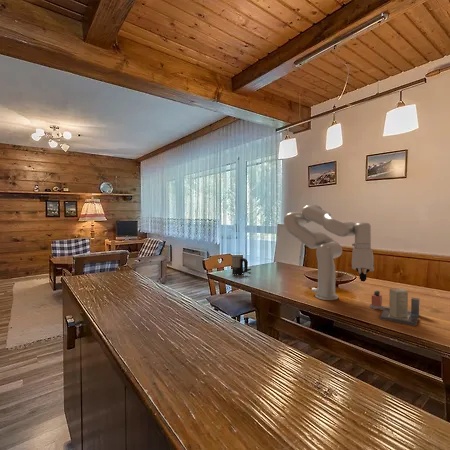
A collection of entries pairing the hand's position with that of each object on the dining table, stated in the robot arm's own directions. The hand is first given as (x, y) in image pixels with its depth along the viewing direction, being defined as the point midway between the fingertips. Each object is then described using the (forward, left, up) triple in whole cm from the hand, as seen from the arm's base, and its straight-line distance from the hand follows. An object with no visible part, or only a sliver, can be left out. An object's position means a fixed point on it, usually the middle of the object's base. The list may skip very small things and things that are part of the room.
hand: (363, 280), depth 149 cm
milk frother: (-98, +26, -14) cm, 102 cm away
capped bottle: (+7, 0, -11) cm, 13 cm away
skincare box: (+17, -9, -12) cm, 23 cm away
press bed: (+18, -9, -13) cm, 24 cm away
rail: (+14, 0, -13) cm, 19 cm away
